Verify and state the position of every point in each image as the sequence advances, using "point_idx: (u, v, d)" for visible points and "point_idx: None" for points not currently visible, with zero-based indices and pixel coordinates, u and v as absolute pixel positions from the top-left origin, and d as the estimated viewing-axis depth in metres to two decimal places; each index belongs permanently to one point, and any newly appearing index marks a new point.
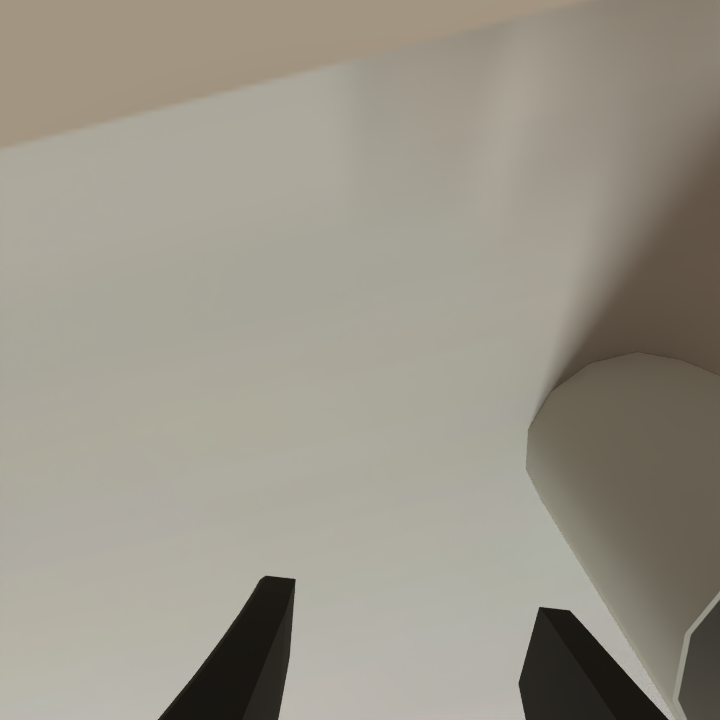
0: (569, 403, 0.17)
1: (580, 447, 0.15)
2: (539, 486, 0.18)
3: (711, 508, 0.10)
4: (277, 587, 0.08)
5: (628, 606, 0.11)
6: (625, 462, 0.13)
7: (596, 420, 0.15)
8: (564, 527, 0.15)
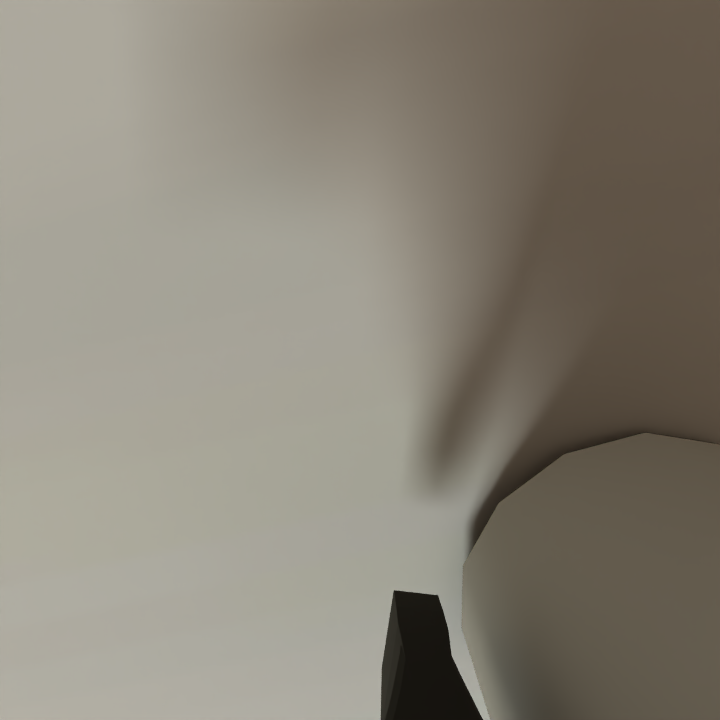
0: (532, 543, 0.09)
1: (557, 674, 0.07)
2: (481, 686, 0.10)
3: None
4: (426, 605, 0.08)
5: None
6: None
7: (589, 614, 0.07)
8: None
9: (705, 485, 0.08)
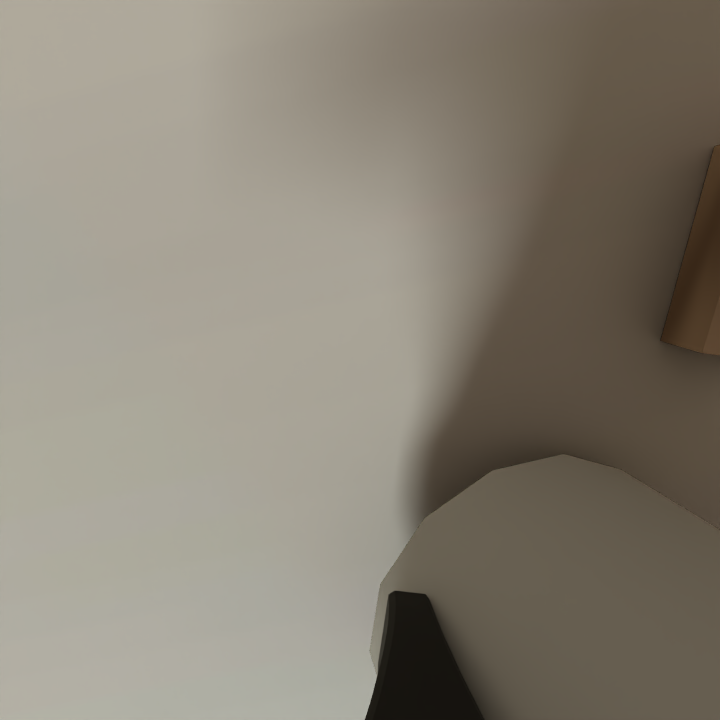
0: (462, 561, 0.08)
1: (492, 703, 0.07)
2: None
3: None
4: (412, 603, 0.08)
5: None
6: None
7: (527, 636, 0.07)
8: None
9: (624, 506, 0.08)
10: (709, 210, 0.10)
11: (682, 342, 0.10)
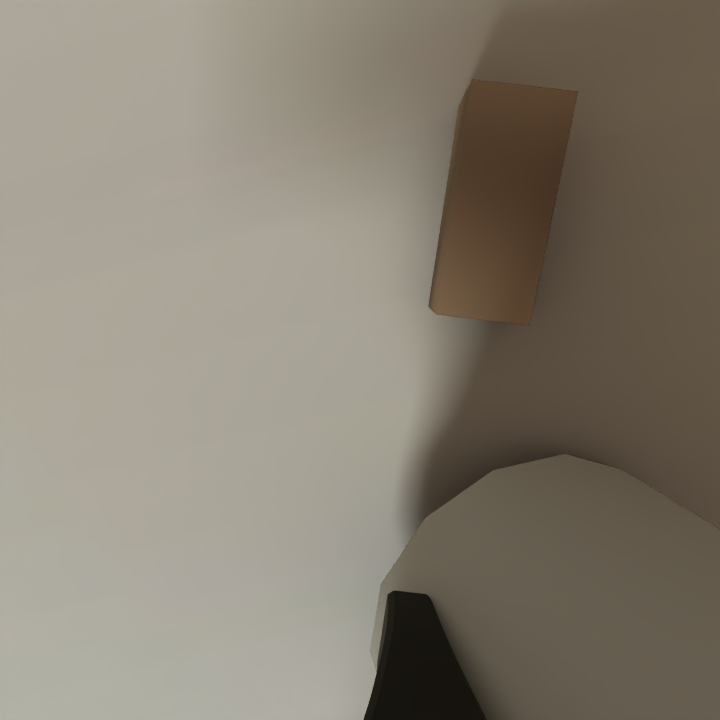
0: (463, 561, 0.09)
1: (493, 702, 0.07)
2: None
3: None
4: (411, 603, 0.08)
5: None
6: None
7: (528, 635, 0.07)
8: None
9: (625, 506, 0.08)
10: (451, 170, 0.10)
11: (432, 305, 0.10)
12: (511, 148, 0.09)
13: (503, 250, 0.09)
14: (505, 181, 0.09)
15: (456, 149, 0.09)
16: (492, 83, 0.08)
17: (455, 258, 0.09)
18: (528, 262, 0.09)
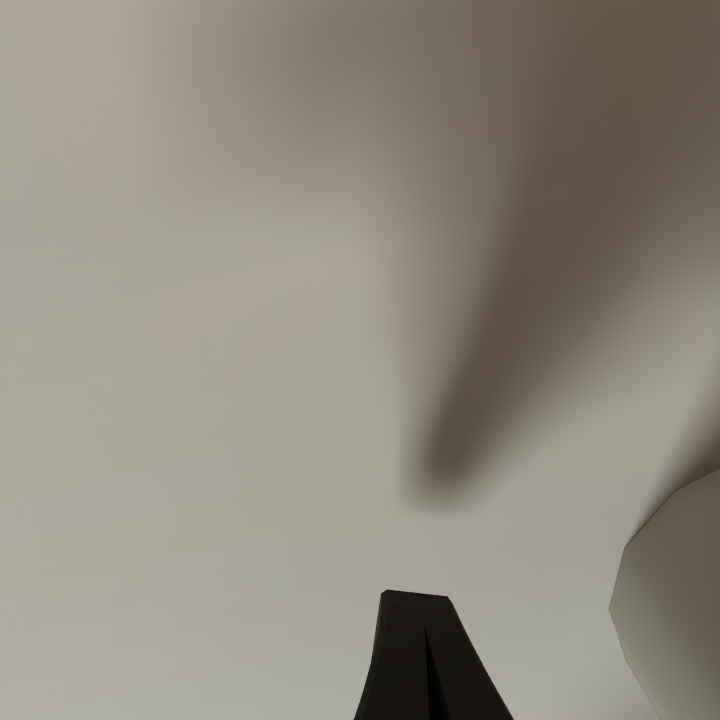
0: None
1: None
2: (647, 662, 0.10)
3: None
4: (404, 602, 0.08)
5: None
6: None
7: None
8: None
9: None
10: None
11: None
12: None
13: None
14: None
15: None
16: None
17: None
18: None
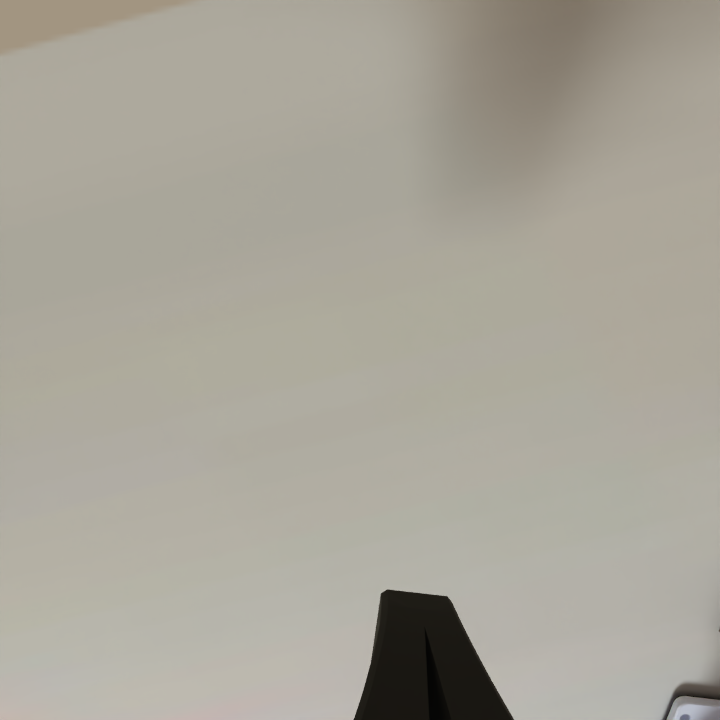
0: None
1: None
2: None
3: None
4: (404, 602, 0.08)
5: None
6: None
7: None
8: None
9: None
10: None
11: None
12: None
13: None
14: None
15: None
16: None
17: None
18: None
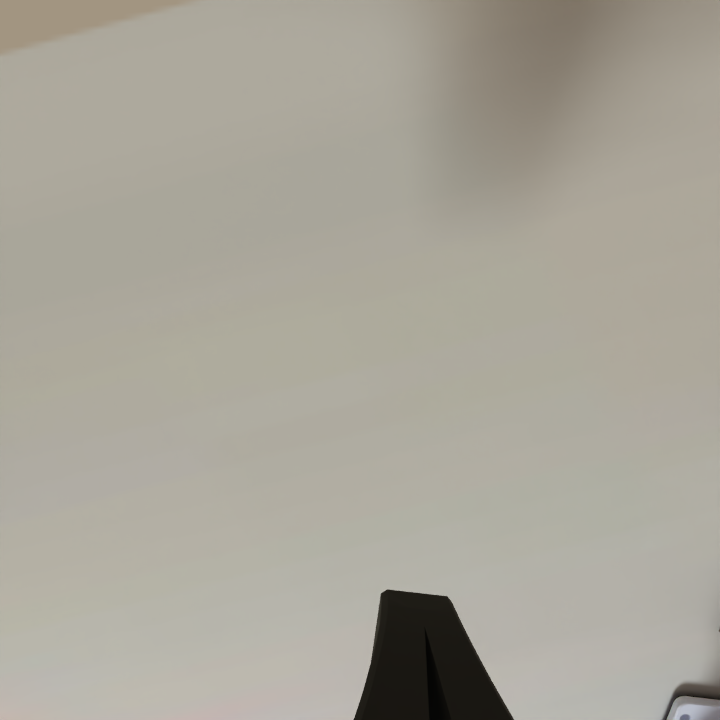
0: None
1: None
2: None
3: None
4: (404, 602, 0.08)
5: None
6: None
7: None
8: None
9: None
10: None
11: None
12: None
13: None
14: None
15: None
16: None
17: None
18: None
